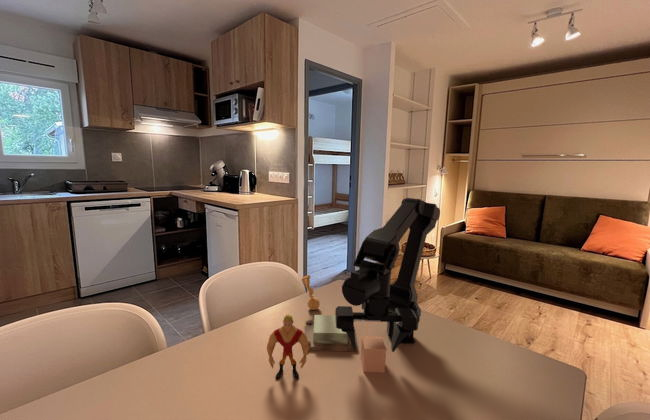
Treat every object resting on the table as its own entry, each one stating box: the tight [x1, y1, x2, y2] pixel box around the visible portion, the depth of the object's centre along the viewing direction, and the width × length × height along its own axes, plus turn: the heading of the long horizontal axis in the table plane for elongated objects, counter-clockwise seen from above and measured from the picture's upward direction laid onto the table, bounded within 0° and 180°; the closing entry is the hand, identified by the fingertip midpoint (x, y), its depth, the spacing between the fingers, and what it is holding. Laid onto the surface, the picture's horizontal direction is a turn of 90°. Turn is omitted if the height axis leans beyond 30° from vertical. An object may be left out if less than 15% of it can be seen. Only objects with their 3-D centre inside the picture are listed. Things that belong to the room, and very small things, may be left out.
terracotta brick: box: [360, 335, 387, 373], centre depth 71 cm, size 5×5×6 cm
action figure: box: [266, 314, 310, 380], centre depth 66 cm, size 10×4×15 cm, turn 92°
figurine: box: [301, 274, 321, 311], centre depth 96 cm, size 8×6×12 cm
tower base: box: [304, 314, 358, 352], centre depth 82 cm, size 14×12×4 cm
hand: (373, 350), depth 71 cm, fingers open, 9 cm apart
